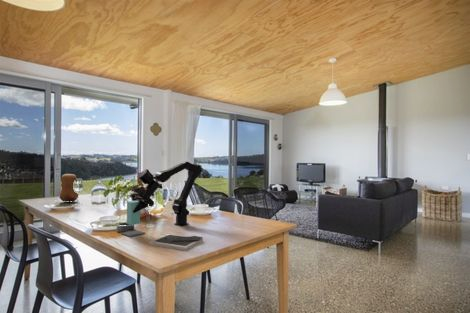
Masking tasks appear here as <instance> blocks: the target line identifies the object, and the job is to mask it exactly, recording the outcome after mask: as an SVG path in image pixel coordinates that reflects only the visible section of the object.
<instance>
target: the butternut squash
mask: <svg viewBox="0 0 470 313" xmlns="http://www.w3.org/2000/svg"><path fill="white" fill-rule="evenodd" d="M76 179H77V176H76V174H73V173H65V174H63V175H62V176H61V180H60V181H61V183H60V187H61V189H60V193H59V199H60V200H61V202H64V201H74V202H75V201H77V200H78V199H79V193H78V194H77V193H75V192H74V190H73V182H74V180H76Z"/></svg>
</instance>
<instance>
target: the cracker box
mask: <svg viewBox="0 0 470 313" xmlns="http://www.w3.org/2000/svg"><path fill="white" fill-rule="evenodd" d="M142 186H143V187H144V188H145V187H146V186H147V185H142ZM132 193H136V192H134V191H132ZM136 194H137V193H136ZM138 196H139V195H138ZM148 214H149V212H148V210H146V209H145V208H144V209H141V210H140V219H142V218H144V217H148V216H149V215H148Z"/></svg>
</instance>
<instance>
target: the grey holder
mask: <svg viewBox="0 0 470 313" xmlns="http://www.w3.org/2000/svg"><path fill="white" fill-rule="evenodd" d="M119 225H126V226H119ZM132 230H135V225H129V224H127V221H125V222H116V232H117V233H124V232H128V231H132ZM123 231H124V232H123Z"/></svg>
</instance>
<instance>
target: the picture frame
mask: <svg viewBox="0 0 470 313" xmlns="http://www.w3.org/2000/svg"><path fill="white" fill-rule="evenodd" d="M203 241H204V238H203V236H197V235H191V236H189V235H187V236H186V235H180V234H175V233H167V234H164V235H162V236H160V237H157V238H154V239H152V240H150V241H148V245H150V246H156V247H162V248H168V249H173V250H179V251H183V252H187V251H188V250H190V249H191V248H193V247H196V246H197V245H199V244H200V243H202V242H203Z"/></svg>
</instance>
